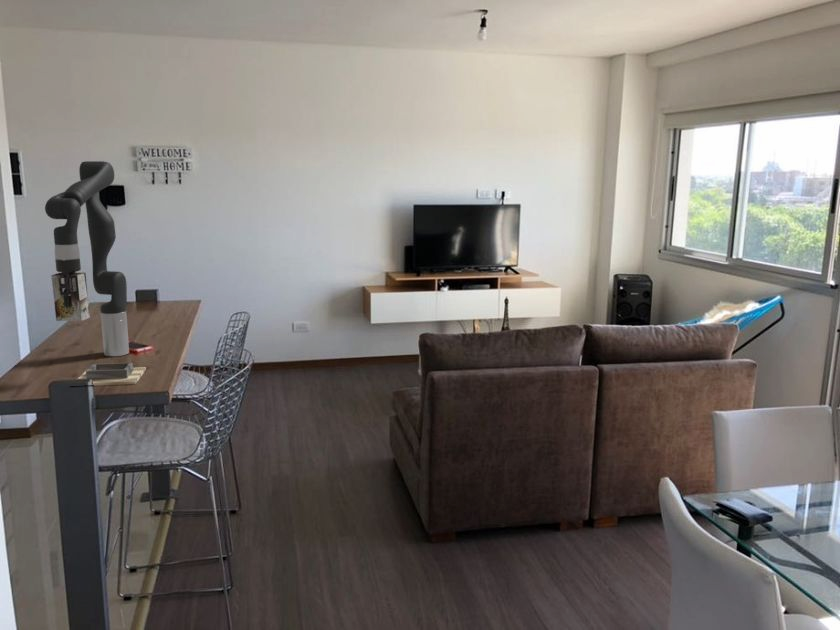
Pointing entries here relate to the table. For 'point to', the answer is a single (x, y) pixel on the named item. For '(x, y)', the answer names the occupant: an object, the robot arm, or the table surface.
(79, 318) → the coffee box
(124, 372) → the mount plate
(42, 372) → the table surface
